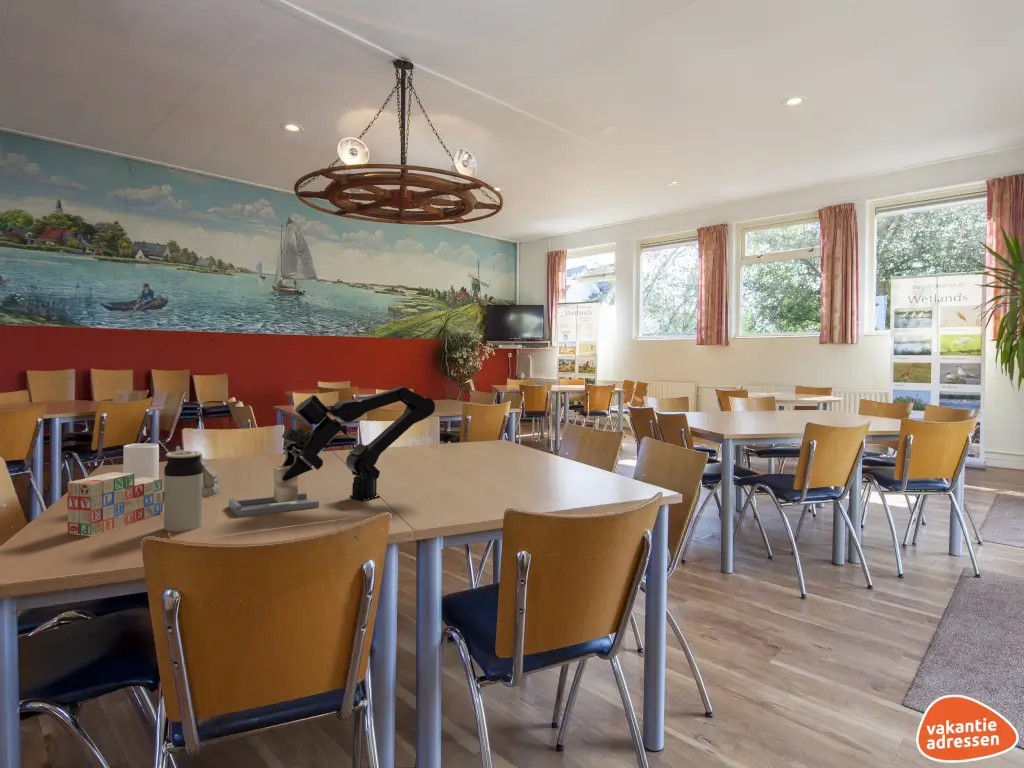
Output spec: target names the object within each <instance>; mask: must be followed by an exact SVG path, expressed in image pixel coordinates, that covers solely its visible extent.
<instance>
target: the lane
mask: <svg viewBox="0 0 1024 768" xmlns="http://www.w3.org/2000/svg"><path fill="white" fill-rule="evenodd" d="M307 497H308V496H307V492H301V493H298V501H291V502H283V503H278V502H277V501H276V500H274V495H273V496H267V497H264V496H263V497H255V498H247V499H239V500H238V499H237V500H236V499H235V498H234V497H231V498H229V500H228V508H229V509H230V511H231V512H232V513H233V514H235V516H236V517H238V518H242V517H243V518H244V517H251V516H257V515H267V514H273V513H275V514H276V513H281V512H282V513H283V512H289V511H298V510H306V509H315V508H319V507H320V501H319V500H314V501H311V500H309V499H308V498H307Z"/></svg>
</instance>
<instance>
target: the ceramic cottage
mask: <svg viewBox="0 0 1024 768" xmlns="http://www.w3.org/2000/svg"><path fill="white" fill-rule="evenodd" d="M177 451H184V450H183V449H181V446H179V445H177V446H176V447H175V452H177ZM200 462H201V464H202V465H203V497H205V498H211V497H210V496H212V497H214V496H213V495H217V494H218V493H220V492H221V493H222V491H221V487H220V486H218V482H219V479H218V477H217V476H219V472H218V471H216V469H214V468H213V466H211V465H210V463H208V461H207V459H206V458H204V457H203V453H202V454H201V456H200ZM221 493H220V494H221ZM217 496H218V495H217Z"/></svg>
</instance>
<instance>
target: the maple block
mask: <svg viewBox="0 0 1024 768" xmlns="http://www.w3.org/2000/svg"><path fill="white" fill-rule="evenodd" d="M290 467H291V466H282V465H281V466H274V467H273V470H274V471H273V496H274V500H276V501H277V502H278V503H283V502H291V501H298V494H299V491H298V490H299V488H298V487H299V475H298V476H296V477H293V478H291V479H289V480H287V481H284V480H283V479H282V478H283V476H284V475H285V473H286V472H287V471H288V469H289V468H290Z"/></svg>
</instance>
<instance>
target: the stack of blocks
mask: <svg viewBox="0 0 1024 768" xmlns="http://www.w3.org/2000/svg"><path fill="white" fill-rule="evenodd" d="M163 491H164V489H163V478H145V477H140V478H137V479H134V473H123V472H117V471H112V472H107V473H101V474H98V475H94V476H90V477H86V478H82V479H76V480H73V481H71V480H70V481H68V482H67V495H66V498H67V534H68V533H69V534H80V535H81V534H83V535H93V534H97V533H100V532H104V531H107V530H111V529H114V528H117V529H119V528H118V527H120V528H122V527H121V526H123V527H124V525H125V526H128V525H131V524H134V523H137V522H139V521H143V520H145V519H149V518H152V517H155V516H158V515H161V514H162V513H163V508H164V503H163V501H164V500H163V499H164V496H163V495H164V492H163ZM136 521H137V522H136ZM133 522H134V523H133ZM130 523H131V524H130ZM127 524H128V525H127ZM114 530H115V529H114ZM111 531H112V530H111ZM104 533H105V532H104Z"/></svg>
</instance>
